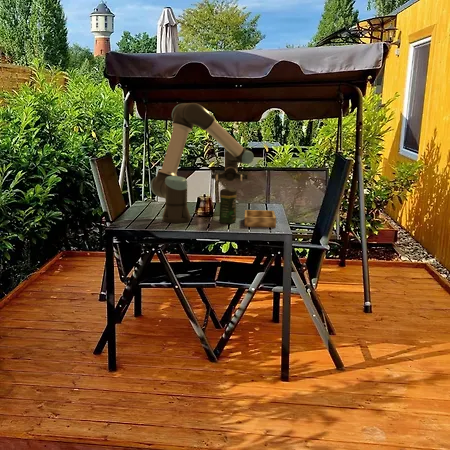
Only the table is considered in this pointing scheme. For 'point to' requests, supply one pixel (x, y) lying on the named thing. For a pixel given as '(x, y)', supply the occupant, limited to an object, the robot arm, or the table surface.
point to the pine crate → (260, 218)
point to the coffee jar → (228, 205)
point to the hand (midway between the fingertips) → (228, 178)
